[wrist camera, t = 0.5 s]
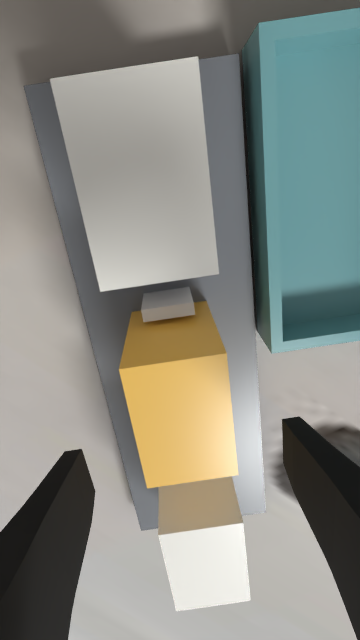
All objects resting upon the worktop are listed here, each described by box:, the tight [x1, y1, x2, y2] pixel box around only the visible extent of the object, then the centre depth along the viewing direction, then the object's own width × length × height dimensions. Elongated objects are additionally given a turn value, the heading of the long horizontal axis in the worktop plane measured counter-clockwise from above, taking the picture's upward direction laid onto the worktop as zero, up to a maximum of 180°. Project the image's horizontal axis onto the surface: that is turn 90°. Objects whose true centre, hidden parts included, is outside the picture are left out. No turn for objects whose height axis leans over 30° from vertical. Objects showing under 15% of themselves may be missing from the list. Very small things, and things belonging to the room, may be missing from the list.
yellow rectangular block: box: [119, 301, 238, 488], centre depth 16 cm, size 4×6×6 cm, turn 8°
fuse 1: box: [50, 56, 219, 292], centre depth 13 cm, size 4×6×6 cm, turn 8°
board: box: [24, 54, 266, 531], centre depth 19 cm, size 9×27×4 cm, turn 8°
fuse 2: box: [158, 476, 251, 611], centre depth 20 cm, size 4×6×6 cm, turn 8°
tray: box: [242, 8, 360, 353], centre depth 17 cm, size 10×14×3 cm
